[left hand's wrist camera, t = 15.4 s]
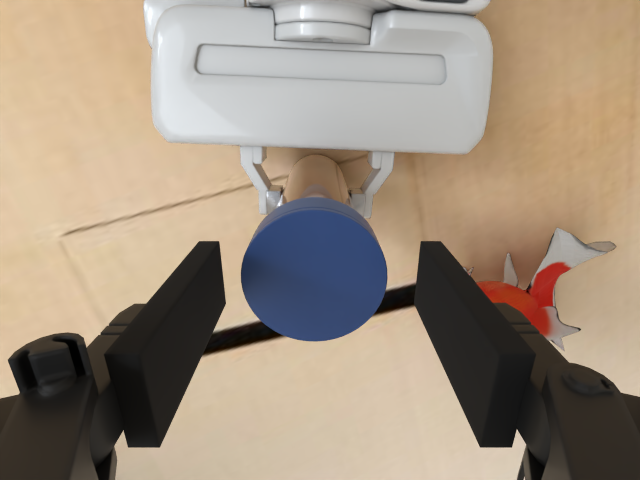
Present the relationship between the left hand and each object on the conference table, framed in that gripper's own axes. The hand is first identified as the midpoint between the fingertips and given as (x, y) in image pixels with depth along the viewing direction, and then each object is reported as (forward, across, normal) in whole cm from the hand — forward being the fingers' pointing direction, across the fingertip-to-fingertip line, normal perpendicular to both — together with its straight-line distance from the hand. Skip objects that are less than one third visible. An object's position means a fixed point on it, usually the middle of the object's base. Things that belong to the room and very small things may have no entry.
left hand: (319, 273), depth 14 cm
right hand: (+12, 0, -1) cm, 12 cm away
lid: (0, 0, 0) cm, 0 cm away
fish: (+18, +17, -8) cm, 27 cm away
